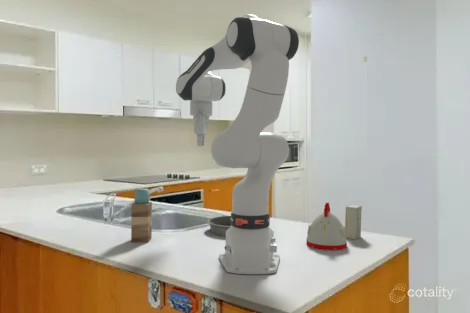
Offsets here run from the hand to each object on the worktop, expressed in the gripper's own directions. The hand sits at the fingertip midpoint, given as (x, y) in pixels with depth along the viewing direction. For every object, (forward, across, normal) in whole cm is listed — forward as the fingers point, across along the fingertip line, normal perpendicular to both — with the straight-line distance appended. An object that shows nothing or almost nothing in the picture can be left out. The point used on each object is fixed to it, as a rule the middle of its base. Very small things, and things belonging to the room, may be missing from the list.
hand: (200, 145), depth 162 cm
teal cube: (+21, -16, +20) cm, 33 cm away
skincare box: (+34, -8, -59) cm, 69 cm away
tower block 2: (+30, -16, +20) cm, 39 cm away
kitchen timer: (+34, -20, -46) cm, 61 cm away
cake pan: (+35, +1, -15) cm, 38 cm away
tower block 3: (+34, -16, +20) cm, 43 cm away
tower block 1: (+25, -16, +20) cm, 36 cm away
